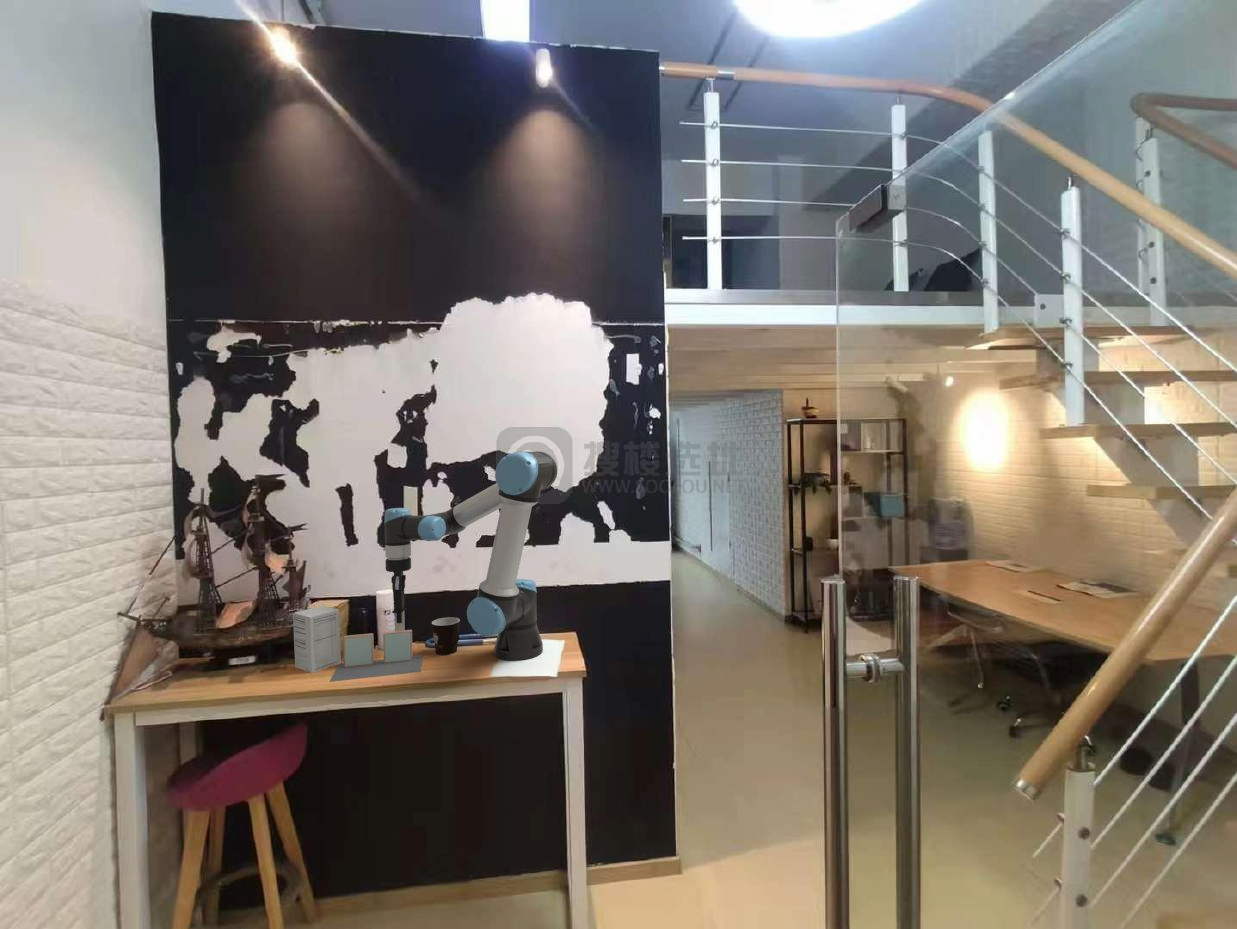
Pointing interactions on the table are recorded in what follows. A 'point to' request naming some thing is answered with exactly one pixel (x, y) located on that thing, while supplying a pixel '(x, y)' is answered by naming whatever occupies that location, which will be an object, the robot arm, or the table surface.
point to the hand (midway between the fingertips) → (399, 632)
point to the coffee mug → (446, 635)
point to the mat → (377, 669)
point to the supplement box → (316, 638)
